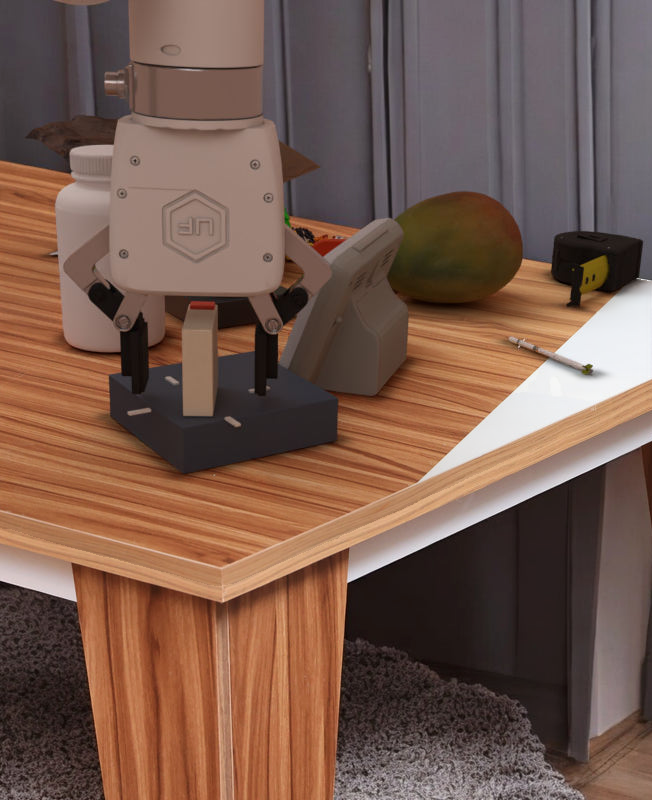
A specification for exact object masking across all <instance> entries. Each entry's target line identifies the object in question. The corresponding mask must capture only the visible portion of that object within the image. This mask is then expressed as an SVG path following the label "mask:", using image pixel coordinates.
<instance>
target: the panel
mask: <svg viewBox="0 0 652 800" xmlns="http://www.w3.org/2000/svg"><path fill="white" fill-rule="evenodd" d="M254 375H255V350H252V351H251V350H250V351H246V352H238V353H232V354H227V355H220V356H218V389H217V395H216V401H215V407H214V413H213V416H183V379H182V362H178V363H172V364H171V363H170V364H165V365H159V366H152V367H149V379H148V382H147V385H146V388H145V391H144V392H142V393H141V394H132V381H131V376H122V373H121V372H116V373H115V372H114V373H109V374H108V390H109V391H108V394H109V416H110V418H111V419H113V420H114V421H115V422H117V423H118V424H119V425H120V426H122V427H123V428H124V429H125V430H127V431H128V432H129V433H130V434H132V435H133V436H134V437H136V438H137V439H138V440H139V441H141V442H142V443H143V444H144V445H146V446H147V447H148V448H149V449H151V450H152V451H153V452H155V453H156V454H157V455H158V456H159V457H161V458H162V459H163V460H165V461H166V462H167V463H169V464H170V465H171V466H172V467H173V468H174V469H176V470H177V471H179V473H181V474H183V475H185V474H186V475H187V474H191V473H195V472H199V471H205V470H209V469H213V468H218V467H223V466H228V465H232V464H236V463H241V462H247V461H251V460H254V459H255V460H256V459H260V458H263V457H268V456H273V455H278V454H283V453H286V452H291V451H296V450H297V451H298V450H300V449H305V448H310V447H314V446H319V445H323V444H329V443H333V442H337V441H338V427H339V425H338V422H339V397H337V396H336V395H334V394H332V393H331V392H328V390H323V389H322V388H320V387H318V386H316V385H314V384H313V383H311V382H309V381H307V380H306V379H304V378H302V377H300V376H299V375H297V374H295V373H293V372H291V371H290V370H288V369H286V368H284V367H283V366H281V365H279V364H278V379H267V386H266V396H258V394H254Z"/></svg>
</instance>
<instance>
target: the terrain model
mask: <svg viewBox="0 0 652 800" xmlns="http://www.w3.org/2000/svg"><path fill="white" fill-rule="evenodd" d="M120 118H121V117H119V118H104V117H101V116H96V115H85V114H78V115H77V114H76V115H75V116H74V117H73V118H72V119H70V120H65V121H52V122H48V123H45V124H43V125H42V126H40V127H34V128H33V129H32V130H31V131H30V132H29V133H28V134H27V135H26V136H25V137H24V139H29V140H35V141H39V142H40V143H41V144H43V145H44V146H46V147H47V148H49V150H51V151H54V152H55V153H56V154H58V155H59V156H60V157H62V158H63V159H64V160H65V161H66V162H67V163H68V164H69V165H70V151H71V150H72V149H73V148H76V147H81V146H90V145H114V139H115V133H116V127H117V122H118V120H119V119H120ZM278 141H279V148H280V155H281V162H282V174H283V184H285V183H287V182H290V181H292V180H294V179H297V178H299V177H301V176H303V175H305V174H308V173H311V172H313V171H316V170H318V169H320V168H322V166H321V165H319V164H317V163H316V162H314V161H313V160H311V159H310V158H308V157H306V156H305V155H304V154H302V153H301V152H299V151H297V150H295V149H294V148H292V147H290V146H289V145H287V144H286V143H284V142H282V140H279V139H278Z"/></svg>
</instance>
